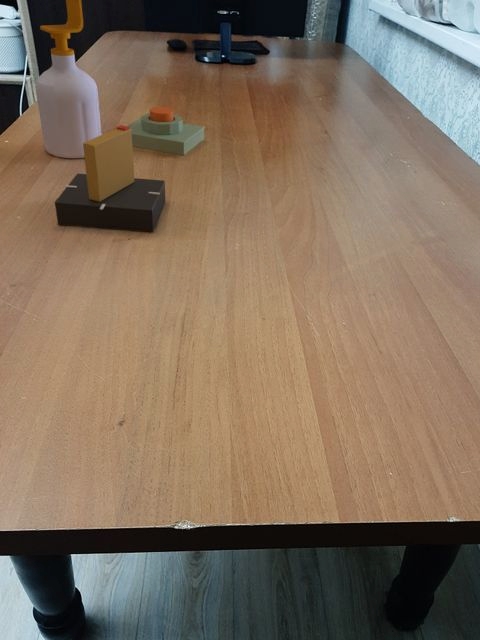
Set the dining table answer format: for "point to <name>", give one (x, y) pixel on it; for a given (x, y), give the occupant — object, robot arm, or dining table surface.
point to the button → (161, 114)
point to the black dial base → (112, 206)
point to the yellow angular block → (109, 163)
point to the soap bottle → (67, 94)
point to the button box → (165, 135)
